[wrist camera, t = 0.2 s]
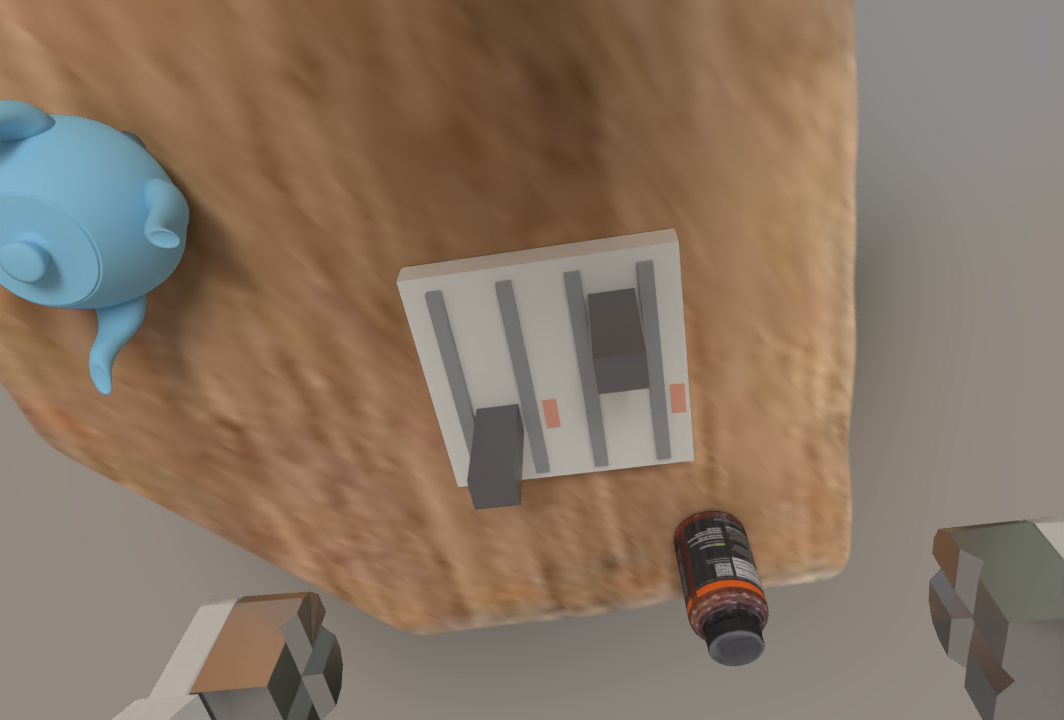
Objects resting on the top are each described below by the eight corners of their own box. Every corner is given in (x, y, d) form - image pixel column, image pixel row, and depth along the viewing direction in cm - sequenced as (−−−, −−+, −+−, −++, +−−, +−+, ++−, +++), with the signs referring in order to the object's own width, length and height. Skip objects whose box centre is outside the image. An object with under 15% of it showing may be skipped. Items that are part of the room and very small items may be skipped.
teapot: (248, 171, 48) (184, 242, 39) (171, 320, 54) (101, 408, 45) (37, 43, 44) (-85, 91, 35) (-21, 219, 50) (-136, 296, 41)
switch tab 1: (476, 409, 55) (467, 481, 49) (518, 403, 55) (513, 476, 48) (483, 435, 56) (475, 509, 50) (524, 431, 56) (520, 504, 50)
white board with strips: (401, 267, 51) (394, 286, 49) (674, 227, 49) (679, 245, 47) (460, 469, 61) (457, 492, 59) (690, 443, 59) (695, 465, 57)
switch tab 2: (587, 294, 50) (592, 359, 43) (634, 287, 49) (646, 352, 43) (592, 327, 51) (598, 394, 45) (638, 321, 51) (650, 388, 44)
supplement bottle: (696, 566, 67) (720, 685, 57) (659, 527, 64) (677, 645, 55) (758, 538, 65) (793, 656, 55) (722, 496, 62) (752, 612, 53)
